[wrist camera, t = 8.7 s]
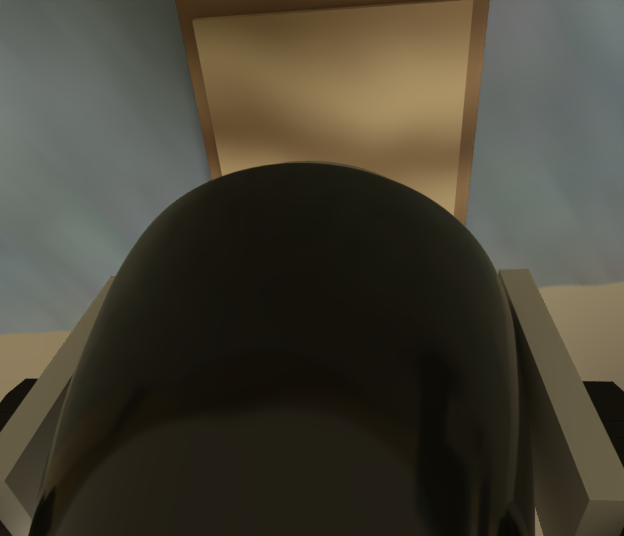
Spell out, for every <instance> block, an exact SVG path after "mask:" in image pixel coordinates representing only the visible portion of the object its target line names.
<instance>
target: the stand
mask: <svg viewBox="0 0 624 536" xmlns="http://www.w3.org/2000/svg"><path fill="white" fill-rule="evenodd" d="M175 2H176V7H177V11H178V16H179V21H180V26H181V31H182V36H183V41H184V46H185V50H186V55H187V60H188V65H189V70H190V75H191V80H192V84H193V89H194V94H195V99H196V104H197V109H198V114H199V119H200V123H201V128H202V133H203V138H204V143H205V148H206V153H207V157H208V162H209V167H210V172H211V177H212V180H213V179H216V178H218V177H221V176H224V175H227V174H230V173H233V172H236V171H240V170H243V169H248V168H252V167H257V166H263V165H270V164H278V163H284V162H292V161H327V162H335V163H342V164H347V165H351V166H356V167H360V168H363V169H366V170H369V171H372V172H376V173H378V174H380V175H383V176H385V177H387V178H390V179H392V180H395V181H397V182H400V183H402V184H404V185H406V186H408V187H411V188H412V189H414V190H416V191H418V192H420V193H422V194H424V195H425V196H427V197H429V198H430V199H432V200H433V201H435V202H436V203H438V204H439V205H441V206H442V207H443V208H445V209H446V210H447V211H448V212H450V213H451V214H452V215H453V216H454V217H456V218H457V219H458V220H459V221H460V222H461V223H462V224H463V225H464V226H465V224H466V215H467V206H468V196H469V187H470V178H471V168H472V159H473V150H474V140H475V131H476V122H477V112H478V103H479V94H480V84H481V75H482V66H483V56H484V47H485V38H486V28H487V19H488V10H489V0H175Z"/></svg>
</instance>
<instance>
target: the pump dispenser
mask: <svg viewBox="0 0 624 536" xmlns="http://www.w3.org/2000/svg"><path fill="white" fill-rule="evenodd" d="M28 536H535V501H534V477H533V458H532V445H531V433H530V424H529V415H528V406H527V398H526V391H525V384H524V376H523V370H522V363H521V356H520V350H519V344H518V339H517V334H516V329H515V325H514V321H513V317H512V313H511V310H510V306H509V303H508V300H507V297H506V294H505V292H504V289H503V286H502V284H501V281H500V279H499V276H498V274H497V272H496V270H495V268H494V266H493V264H492V262H491V260H490V258H489V257H488V255H487V253H486V252H485V250H484V249H483V247H482V246H481V245H480V243H479V242H478V241H477V239H476V238H475V237H474V236H473V235H472V234H471V232H470V231H469V230H468V229H467V228H466V227H465V226H464V225H463V224H462V223H461V222H460V221H459V220H458V219H457V218H456V217H454V216H453V215H452V214H451V213H450V212H448V211H447V210H446V209H445V208H443V207H442V206H441V205H439V204H438V203H436V202H435V201H433V200H432V199H430V198H429V197H427V196H425V195H424V194H422V193H420V192H418V191H416V190H414V189H412V188H411V187H408V186H406V185H404V184H402V183H400V182H397V181H395V180H392V179H390V178H387V177H385V176H383V175H380V174H378V173H376V172H372V171H369V170H366V169H363V168H360V167H356V166H351V165H347V164H342V163H335V162H327V161H292V162H284V163H278V164H270V165H263V166H257V167H252V168H248V169H243V170H240V171H236V172H233V173H230V174H227V175H224V176H221V177H218V178H216V179H213V180H211V181H209V182H207V183H205V184H202V185H201V186H199V187H197V188H195V189H193V190H191V191H190V192H188V193H186V194H185V195H183V196H182V197H180V198H179V199H177V200H176V201H175V202H174V203H172V204H171V205H170V206H168V207H167V208H166V209H165V210H164V211H163V212H162V213H161V214H160V215H159V216H158V217H157V218H156V219H155V220H154V221H153V222H152V223H151V224H150V225H149V226H148V228H147V229H146V230H145V231H144V233H143V234H142V235H141V237H140V238H139V239H138V241H137V242H136V244H135V245H134V246H133V248H132V249H131V251H130V252H129V254H128V255H127V257H126V259H125V260H124V262H123V264H122V265H121V267H120V269H119V271H118V272H117V274H116V276H115V278H114V280H113V282H112V284H111V286H110V288H109V290H108V292H107V295H106V297H105V299H104V301H103V303H102V306H101V308H100V310H99V312H98V315H97V317H96V319H95V322H94V324H93V326H92V329H91V331H90V333H89V336H88V338H87V341H86V343H85V346H84V348H83V350H82V353H81V355H80V358H79V361H78V363H77V366H76V368H75V371H74V374H73V376H72V379H71V382H70V385H69V387H68V390H67V393H66V396H65V399H64V402H63V405H62V408H61V412H60V415H59V418H58V421H57V424H56V428H55V431H54V434H53V438H52V441H51V445H50V448H49V452H48V456H47V459H46V463H45V467H44V471H43V475H42V478H41V482H40V486H39V490H38V495H37V499H36V503H35V507H34V511H33V516H32V520H31V525H30V529H29V534H28Z"/></svg>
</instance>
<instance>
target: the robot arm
mask: <svg viewBox="0 0 624 536" xmlns="http://www.w3.org/2000/svg"><path fill="white" fill-rule="evenodd" d="M498 276H499V279H500V281H501V284H502V286H503V289H504V292H505V294H506V297H507V300H508V303H509V306H510V310H511V313H512V317H513V321H514V325H515V329H516V334H517V339H518V344H519V350H520V356H521V363H522V370H523V376H524V384H525V391H526V398H527V406H528V415H529V424H530V433H531V445H532V458H533V477H534V501H535V508H536V511H537V515H538V518H539V521H540V525H541V528H542V531H543V535H544V536H624V391H623V390H621V389H620V388H619V387H618V386H617V385H616V384H615V383H614V382H599V381H598V382H596V381H591V382H590V381H582V380H581V378H580V376H579V374H578V372H577V370H576V368H575V365H574V363H573V361H572V359H571V357H570V355H569V353H568V351H567V349H566V347H565V345H564V342H563V340H562V338H561V336H560V334H559V332H558V330H557V328H556V326H555V324H554V322H553V320H552V317H551V315H550V313H549V311H548V309H547V307H546V305H545V303H544V301H543V299H542V297H541V294H540V292H539V290H538V288H537V286H536V284H535V282H534V280H533V278H532V276H531V273H530V271H529V269H507V270H499V274H498ZM114 278H115V276H111V277H110V279H109V280H108V281H107V283H106V284H105V286H104V287H103V289H102V290H101V291H100V293H99V294H98V296H97V297H96V298H95V300H94V301H93V303H92V304H91V305H90V307H89V308H88V310H87V311H86V312H85V314H84V315H83V317H82V318H81V319H80V321H79V322H78V324H77V325H76V327H75V328H74V329H73V331H72V332H71V334H70V335H69V337H68V338H67V339H66V341H65V342H64V343H63V345H62V346H61V348H60V349H59V350H58V352H57V353H56V355H55V356H54V358H53V359H52V360H51V362H50V363H49V365H48V366H47V367H46V369H45V370H44V372H43V373H42V374H41V376H40V377H39V379H25V380H24V381H22V382H21V383H20V384H19V385H18V386H16V387H15V388H14V389H13V390H11V391H10V392H9V393H8V394H7V395H6V396H5V397H4V399H3V400H2V401H1V402H0V536H28V534H29V529H30V525H31V520H32V516H33V511H34V507H35V503H36V499H37V495H38V490H39V486H40V482H41V478H42V475H43V471H44V467H45V463H46V459H47V456H48V452H49V448H50V445H51V441H52V438H53V434H54V431H55V428H56V424H57V421H58V418H59V415H60V412H61V408H62V405H63V402H64V399H65V396H66V393H67V390H68V387H69V385H70V382H71V379H72V376H73V374H74V371H75V368H76V366H77V363H78V361H79V358H80V355H81V353H82V350H83V348H84V346H85V343H86V341H87V338H88V336H89V333H90V331H91V329H92V326H93V324H94V322H95V319H96V317H97V315H98V312H99V310H100V308H101V306H102V303H103V301H104V299H105V297H106V295H107V292H108V290H109V288H110V286H111V284H112V282H113V280H114Z"/></svg>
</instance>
